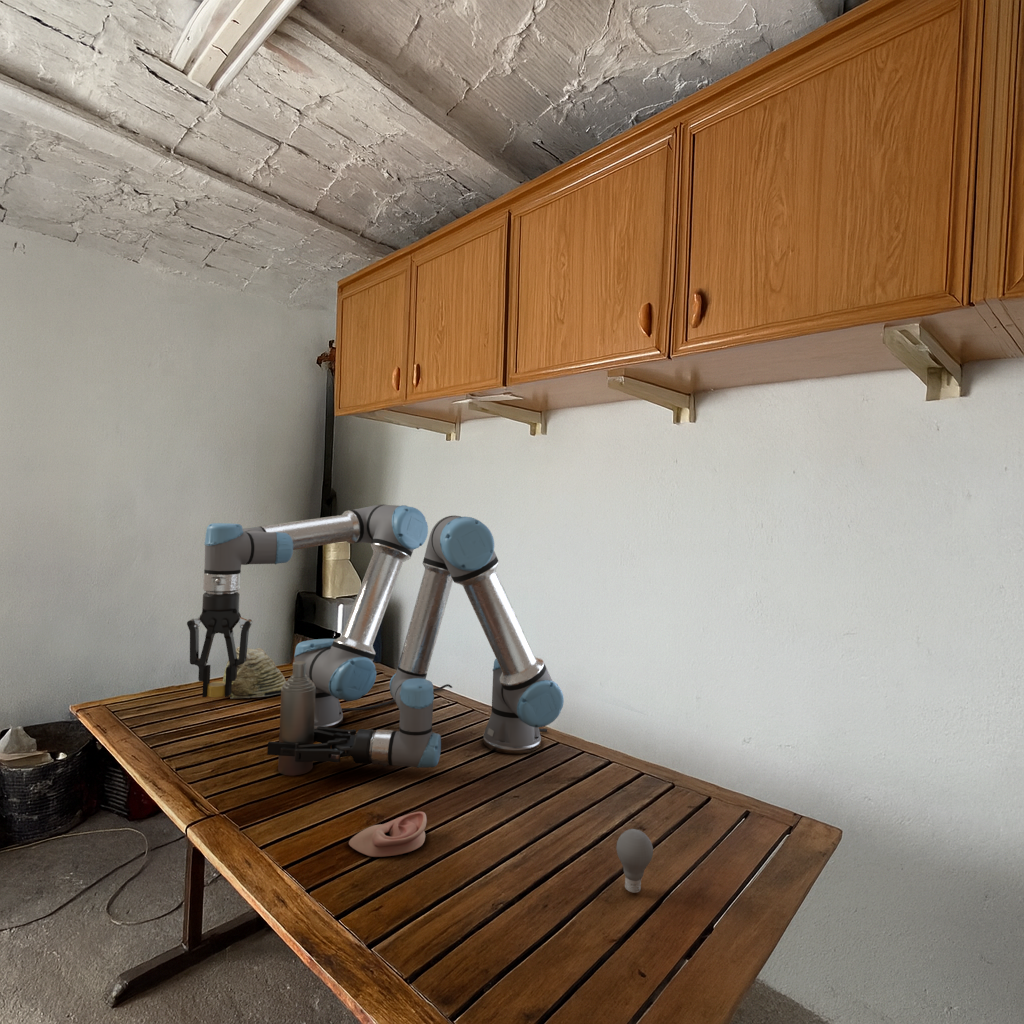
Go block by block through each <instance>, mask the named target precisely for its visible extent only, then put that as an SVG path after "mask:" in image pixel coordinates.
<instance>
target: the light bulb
mask: <svg viewBox="0 0 1024 1024" xmlns="http://www.w3.org/2000/svg"><path fill="white" fill-rule="evenodd" d="M615 849H616V854H617V857H618V859H619V861H620V863H621V865H622V867H623V873H624V874H623V875H624V876H625V878H624V888H625V890H627V891H628V892H630V893H634V894H635V893H639V892H640V891H641V889H642V887H641V886H642V879H643V877H644V875H645V871H646V868H647V867H648V866H649V864H650V863H651V861H652V859H653V855H654V847H653V843H652V841H651V838H649V836H648V835H647V834H646V833H645V832H643V831H642V830H641V829H636V828H629V829H627V830H625V831H623V832H622V833H621V834H620V835H619V837H618V839H617V841H616V847H615Z"/></svg>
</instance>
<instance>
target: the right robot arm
mask: <svg viewBox="0 0 1024 1024" xmlns="http://www.w3.org/2000/svg"><path fill="white" fill-rule="evenodd" d="M424 552H425V553H424V557H423V560H422V565H423V568H424V571H423V575H422V579H421V581H420V586H419V590H418V593H417V597H416V600H415V604H414V607H413V611H412V615H411V619H410V622H409V625H408V629H407V633H406V636H405V639H404V643H403V647H402V651H401V653H400V657H399V662H398V665H397V668H396V671H395V673H394V674H393V675H392V676H391V678H390V681H389V691H390V692H389V693H390V695H391V697H392V700H393V699H394V700H395V701H394V702H395V704H396V706H397V708H398V710H399V727H398V730H392V729H391V730H390V729H376V731H375V730H374V729H370V728H369V729H366V728H360V729H354V728H353V729H344V728H337V727H335V728H329V727H320V726H318V727H317V729H314V744H308V745H298V742H296V743H284V742H279V741H268V742H267V753H266V754H267V756H278V757H279V756H295V761H296V762H313V763H315V762H318V763H319V762H322V763H323V762H324V763H326V762H327V763H328V762H330V763H335V764H337V763H341V758H347V757H351V758H352V761H353V763H354V764H357V765H358V764H359V765H370V764H371V763H372V764H373V765H377V766H383V767H384V768H386V767H387V766H392V767H393V766H394V767H395V766H397V767H408V768H417V769H421V768H422V769H424V768H425V769H426V768H427V769H429V768H435V767H437V765H438V764H439V761H440V759H441V752H442V751H441V750H442V736H441V734H440V733H436V732H434V731H433V714H434V700H435V694H434V691H433V689H434V684H433V682H432V680H431V681H430V680H428V679H427V676H428V672H429V668H430V664H431V661H432V658H433V654H434V650H435V646H436V642H437V641H438V636H439V632H440V629H441V625H442V622H443V618H444V615H445V612H446V607H447V604H448V600H449V597H450V593H451V591H452V586H453V583H455V584H457V585H459V586H462V587H463V589H464V592H465V594H466V597H467V598H468V600H469V602H470V605H471V607H472V609H473V611H474V614H475V615H476V617H477V620H478V622H479V624H480V626H481V629H482V631H483V634H484V635H485V637H486V640H487V641H488V643H489V646H490V648H491V651H492V652H493V655H494V657H495V658H494V661H493V666H492V667H493V668H492V691H491V713H490V716H489V719H488V721H487V724H486V727H485V729H484V732H483V741H482V743H483V745H484V746H485V747H486V748H487V749H489V750H492V751H494V752H498V753H502V754H507V755H508V754H509V755H520V754H521V755H522V754H528V753H532V752H534V751H537V750H538V749H540V747H541V746H542V745H541V744H542V735H541V733H548V728H544V727H546V726H548V725H550V724H552V723H553V722H554V721H555V720H557V719H558V717H559V716H560V714H561V711H562V709H563V707H564V704H565V703H564V702H565V698H564V694H563V693H564V692H563V691H562V689H561V687H560V686H559V684H558V683H557V682H556V681H553V678H552V677H551V675H550V673H549V671H548V668H547V666H546V664H545V661H544V660H543V659H542V658H541V657H538V656H535V655H534V652H533V650H532V648H531V646H530V644H529V641H528V639H527V637H526V635H525V632H524V630H523V628H522V625H521V623H520V621H519V619H518V616H517V614H516V612H515V609H514V608H513V606H512V603H511V601H510V598H509V596H508V595H507V593H506V590H505V587H504V584H503V583H502V581H501V579H500V577H499V574H498V572H497V568H498V565H499V563H500V561H499V559H498V556H497V554H496V552H495V539H494V535H493V533H492V532H491V530H490V529H489V527H488V526H487V525H486V524H485V523H484V522H482V521H481V520H479V519H477V518H474V517H471V516H461V515H448V516H445V517H443V518H441V519H440V520H438V521H436V523H435V525H434V526H433V527H432V529H431V531H430V534H429V537H428V540H427V544H426V548H425V551H424Z"/></svg>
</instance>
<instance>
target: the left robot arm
mask: <svg viewBox="0 0 1024 1024" xmlns="http://www.w3.org/2000/svg"><path fill="white" fill-rule="evenodd" d="M428 534H429V526H428V522H427V520H426V516H425V515H424V513H423V512H422V511H421V510H420V509H418V508H416V507H414V506H408V505H406V504H404V505H403V504H402V505H397V504H374V505H370V506H365V507H360V508H354V509H350V510H349V509H348V510H345V511H343V513H342V514H340V515H339V514H337V515H332V516H325V517H317V518H316V517H315V518H311V519H310V518H309V519H302V520H296V521H289V522H281V523H274V524H268V525H259V526H253V527H246V528H245V527H243V525H241V524H240V523H226V522H212V523H210V524H208V525H207V527H206V531H205V539H204V569H203V584H202V585H203V587H202V588H203V589H202V590H203V591H204V593H203V594H202V605H201V606H202V607H201V608H202V609H201V610H202V611H201V614H200V615H199V617H196V618H191V619H189V620H187V622H186V625H187V628H188V630H189V664H190V665H194V666H197V667H198V677H197V678H198V682H202V695H201V696H202V698H207V697H208V696H207V686H208V684H209V683H211V664H208V663H209V658H210V653H211V649H212V646H213V642H214V638H215V635H216V634H221V635H223V637H224V639H225V646H226V652H227V658H228V660H229V664H230V665H228V667H227V666H226V667H227V668H226V667H225V668H226V682H225V696H224V698H230V694H231V688H232V681H235V680H236V678H237V666H238V665H241V664H243V663H244V662H245V661H246V657H247V648H248V646H249V645H248V644H249V633H250V628H251V627H252V624H253V620H252V619H250V618H249V619H247V618H244V617H242V615H241V613H240V593H239V592H238V591H239V590H241V572H242V571H241V570H242V566H246V565H278V564H287V563H288V562H289V561H290V560H291V559H292V557H293V555H294V551H296V550H302V549H308V548H314V547H319V546H326V545H331V544H338V543H345V542H346V543H348V544H350V545H351V544H352V545H353V544H358V543H365V544H366V543H367V544H370V547H371V549H372V550H373V551H372V552H373V553H372V556H371V558H370V561H369V563H368V566H367V569H366V571H365V573H364V576H363V579H362V582H361V584H360V587H359V588H358V589H359V590H358V592H357V595H356V598H355V600H354V601H353V602H354V603H353V605H352V607H351V611H350V613H349V615H348V619H347V621H346V623H345V626H344V629H343V631H342V634H341V636H339V637H337V638H318V639H308V640H303V641H300V642H299V643H297V644H296V646H295V650H294V655H293V657H294V662H296V661H304V662H306V674H305V675H307V677H309V678H310V680H312V682H313V683H314V684H315V686H316V692H315V719H314V729H317V727H318V726H320V727H329V728H337V727H339V726H340V725H342V723H343V722H344V714H343V712H346V711H349V712H350V711H364V710H365V711H366V710H370V709H375V708H379V707H382V706H386V705H389V704H392V703H394V702H395V700H394V699H393V698H392V699H391V700H388V701H385V702H381V703H378V704H374V705H369V706H363V707H343V708H342V706H341V702H340V700H343V701H346V702H353V701H357V700H359V699H361V698H362V697H364V696H366V695H367V694H368V693H369V692H370V691H371V689H372V688H373V687H374V685H375V682H376V680H377V669H376V665H375V663H374V660H375V658H376V657H375V656H376V653H377V652H376V651H375V649H374V646H373V645H374V643H375V640H376V637H377V635H378V632H379V629H380V626H381V624H382V621H383V620H384V619H383V618H384V616H385V613H386V610H387V608H388V605H389V602H390V599H391V597H392V593H393V591H394V588H395V585H396V583H397V581H398V577H399V574H400V572H401V569H402V566H403V564H404V562H406V561H409V560H410V559H411V558H412V555H413V553H414V550H416V549H419V548H420V547H423V545H424V544H425V543H426V540H427V538H428ZM238 623H239V628H240V629H241V631H240V638H239V639H240V640H239V647H240V649H239V659H237V654H236V649H237V648H236V644H235V637H234V628H235V627H236V626H237V625H238ZM201 624H202V625H203V627H204V628H205V630H206V633H205V635H204V636H205V639H204V642H203V646H202V650H201V653H200V630H199V628H200V626H201ZM447 687H448V688H450V689H453V686H452V685H451V684H450V683H449V684H444V685H442V686H440V687H436V688H433V692H436V691H440V690H442V689H445V688H447Z"/></svg>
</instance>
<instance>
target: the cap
mask: <svg viewBox="0 0 1024 1024" xmlns="http://www.w3.org/2000/svg"><path fill="white" fill-rule="evenodd" d="M207 697H208V698H221V697H225V682H223V681H212V682H210V683H209V684H208V686H207Z"/></svg>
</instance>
